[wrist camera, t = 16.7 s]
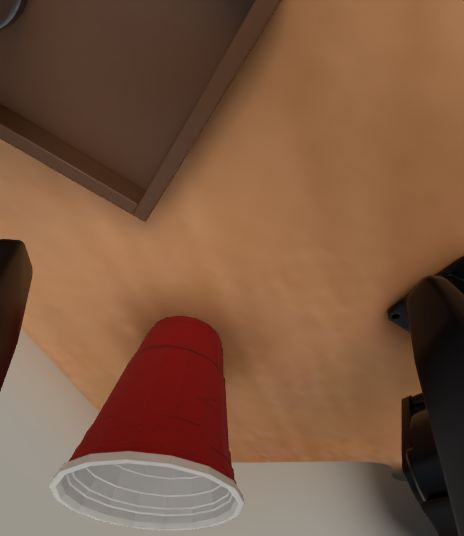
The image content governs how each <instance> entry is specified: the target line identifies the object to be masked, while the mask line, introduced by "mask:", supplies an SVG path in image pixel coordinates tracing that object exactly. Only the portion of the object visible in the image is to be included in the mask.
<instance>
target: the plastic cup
mask: <svg viewBox="0 0 464 536" xmlns="http://www.w3.org/2000/svg"><path fill="white" fill-rule="evenodd" d="M49 486H50V488H51V490H52V493H53V495H54V497H55V499H56V500H58V501H59V502H61V503H62V504H64V505H65V506H67V507H68V508H70V509H71V510H73V511H74V512H77V513H80V514H82V515H85V516H88V517H90V518H93V519H96V520H99V521H102V522H106V523H112V524H116V525H122V526H125V527H130V528H139V529H151V530H162V531H170V530H196V529H201V528H205V527H210V526H216V525H221V524H223V523H225V522H227V521H229V520H231V519H233V518H235V517H236V516H238V515H239V514H240V511H241V509H242V507H243V505H244V499H243V495H242V494H241V492H240V490H239V489H238V487H237V485H236V481H235V480H234V471H233V468H232V466H231V455H230V451H229V446H228V427H227V408H226V390H225V379H224V377H223V349H222V346H221V341H220V338H219V336H218V333H216V332H215V331H214V330H213V329H212V328H211V327H210V326H209V325H208V324H206V323H203V322H201V321H199V320H197V319H194V318H189V317H183V316H177V317H167V318H165V319H163V320H161V321H159V322H157V323H156V324H155V326H154V327H152V329H151V330H150V332H149V333H148V334H147V336H146V337H145V339H144V341H143V342H142V344H141V346H140V348H139V349H138V351H137V353H136V354H135V355H134V356H133V358H132V359H131V360H130V362H129V363H128V365H127V367H126V369H125V370H124V372H123V374H122V375H121V377H120V379H119V381H118V382H117V384H116V386H115V387H114V389H113V391H112V392H111V394H110V396H109V398H108V399H107V401H106V403H105V404H104V406H103V408H102V410H101V411H100V413H99V415H98V416H97V418H96V420H95V421H94V423H93V425H92V426H91V427H90V428H89V430H88V431H87V432H86V434H85V436H84V438H83V440H82V442H81V443H80V445H79V446H78V447H77V448H76V450H75V452H74V454H73V455H72V457H71V458H70V460H69V461H68V462H66V463H64V464H63V466H62V467H61V468H60V470H59V471H58V472H57V474H56V475H55V476H54V478H53V479H52V481H51V483H50V484H49Z"/></svg>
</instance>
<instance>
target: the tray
mask: <svg viewBox="0 0 464 536" xmlns="http://www.w3.org/2000/svg"><path fill="white" fill-rule="evenodd" d="M280 1H281V0H27V3H26V6H25V8H24V10H23V12H22V13H21V15H20V17H19V18H18V19H17V20H16V21H15V22H14V23H13V24H11V25H10V26H8V27H6V28H4V29H2V30H0V139H2V140H4V141H5V142H7V143H9V144H11V145H12V146H14V147H16V148H18V149H19V150H21V151H23V152H25V153H26V154H28V155H30V156H31V157H33V158H35V159H37V160H38V161H40V162H42V163H44V164H45V165H47V166H49V167H51V168H52V169H54V170H56V171H58V172H59V173H61V174H63V175H65V176H66V177H68V178H70V179H72V180H73V181H75V182H77V183H78V184H80V185H82V186H84V187H85V188H87V189H89V190H91V191H92V192H94V193H96V194H98V195H99V196H101V197H103V198H105V199H106V200H108V201H110V202H112V203H113V204H115V205H117V206H119V207H120V208H122V209H124V210H125V211H127V212H129V213H131V214H133V215H134V216H136V217H138V218H139V219H141V220H143V221H146V220H147V219H148V217H149V215H150V214H151V212H152V210H153V209H154V207H155V206H156V204H157V202H158V201H159V199H160V197H161V196H162V194H163V192H164V191H165V189H166V188H167V186H168V184H169V183H170V181H171V179H172V178H173V176H174V174H175V173H176V171H177V170H178V168H179V166H180V165H181V163H182V161H183V160H184V158H185V156H186V155H187V153H188V152H189V150H190V148H191V147H192V145H193V143H194V142H195V140H196V138H197V137H198V135H199V134H200V132H201V130H202V129H203V127H204V125H205V124H206V122H207V120H208V119H209V117H210V116H211V114H212V112H213V111H214V109H215V107H216V106H217V104H218V102H219V101H220V99H221V98H222V96H223V94H224V93H225V91H226V89H227V88H228V86H229V84H230V83H231V81H232V80H233V78H234V76H235V75H236V73H237V71H238V70H239V68H240V66H241V65H242V63H243V62H244V60H245V58H246V57H247V55H248V53H249V52H250V50H251V48H252V47H253V45H254V44H255V42H256V40H257V39H258V37H259V35H260V34H261V32H262V30H263V29H264V27H265V25H266V24H267V22H268V21H269V19H270V17H271V16H272V14H273V12H274V11H275V9H276V7H277V6H278V4H279V3H280Z"/></svg>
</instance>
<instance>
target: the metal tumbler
mask: <svg viewBox="0 0 464 536" xmlns="http://www.w3.org/2000/svg"><path fill="white" fill-rule="evenodd" d="M26 3H27V0H0V30H2V29H4V28H6V27H8V26H10V25H11V24H13V23H14V22H15V21H16V20H17V19H18V18H19V17H20V15H21V13H22V12H23V10H24V8H25V6H26Z"/></svg>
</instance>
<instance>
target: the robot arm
mask: <svg viewBox="0 0 464 536" xmlns="http://www.w3.org/2000/svg"><path fill="white" fill-rule="evenodd" d="M31 279H32V265H31V262H30V259H29V256H28V253H27V250H26V247H25V245H24V243H23V242H22V241H20V240H10V239H0V391H1V388H2V385H3V382H4V379H5V377H6V374H7V371H8V368H9V365H10V363H11V359H12V357H13V354H14V351H15V348H16V345H17V342H18V338H19V334H20V330H21V325H22V321H23V316H24V312H25V307H26V302H27V298H28V293H29V289H30V284H31ZM393 314H395V315H393ZM387 315H388V319H389V320H390V321H392V322H394V323H395V324H397V325H399V326H400V327H402V328H403V329H405V330H407V331H408V332H410V333H411V339H412V346H413V353H414V359H415V364H416V368H417V373H418V377H419V381H420V385H421V388H422V392H423V393H420V394H418V395H415V396H413V397H412V396H408V397H406V398H403V399H402V468H403V472H404V474H405V476H406V477H407V480H408V482H409V485H410V487H411V489H412V492H413V493H414V495H415V497H416V499H417V501H418V502H419V504H420V505H421V507H422V509H423V511H424V513H425V514H426V516H427V517H428V518H429V520H430V521H431V523H432V524H433V526H434V527H435V529H436V531H437V533H438V535H439V536H464V257H462V258H461V259H459V260H458V261H456V262H455V263H453V264H452V265H451V266H449V267H448V268H446V269H445V270H444V271H442V272H441V273H439V274H438V275H436V276H426V277H424V278H423V279H422V280H421V282H420V283H419V284H418V285H417V286H416V287H415V288H414V290H413V291H412V292H411V293H410V294H409V295H408V296H406V297H405V298H404V299H402V300H401V301H399V302H398V303H397V304H395V305H394V306H392V307H391V308H389V309H388V310H387Z"/></svg>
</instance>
